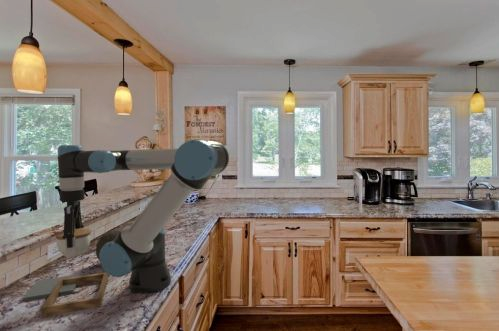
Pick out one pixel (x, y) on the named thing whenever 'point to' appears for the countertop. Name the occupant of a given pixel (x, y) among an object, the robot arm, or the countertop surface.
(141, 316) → the countertop surface
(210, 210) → the countertop surface
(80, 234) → the lidded jar
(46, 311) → the pocket frame
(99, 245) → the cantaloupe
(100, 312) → the countertop surface
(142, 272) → the robot arm
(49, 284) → the trivet
